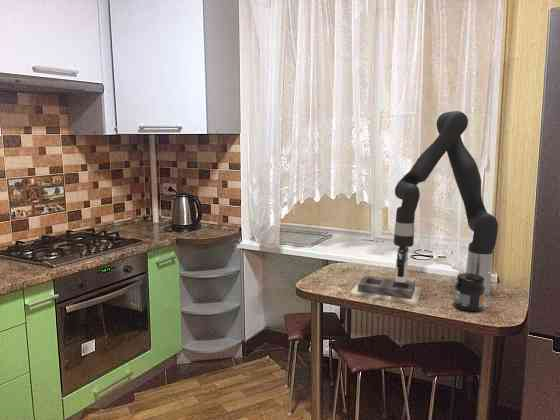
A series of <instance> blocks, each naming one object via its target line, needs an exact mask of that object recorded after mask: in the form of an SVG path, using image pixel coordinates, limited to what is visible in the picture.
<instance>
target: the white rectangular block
mask: <svg viewBox="0 0 560 420" xmlns="http://www.w3.org/2000/svg"><path fill="white" fill-rule="evenodd" d="M395 259H396V260H395V261H396V262H395V273H394V277H395V278H394V280H395V281H397V282H404V283H405V282H406V281H407V278H408V266H409V264H408V263H409V257H408V258H407V259H406V262H405V267H404V276H403V277H398V267H397V258H395ZM404 260H405V259H404ZM400 264H401V265H402V263H400Z"/></svg>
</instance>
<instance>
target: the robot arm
mask: <svg viewBox="0 0 560 420" xmlns="http://www.w3.org/2000/svg"><path fill="white" fill-rule="evenodd" d="M468 125H469V120H468V116H467V115H466V114H465V113H464V112H462V111H460V110H456V111H455V110H454V111H446V112H443V113H441V114H440V115H439V116H438V117H437V120H436V129H437V132H438V134H439V135H438V136H437V137H436V139H435V140H434V141H433V142H432V143H431V144H430V145H429V146H428V147H427V148H426V149H425V150H424V151H423V152H422V153H421V154H420V156H419V157H418V158H417V160H416V161H415V163H414V164H413V165H412V167H411V169H410V170H409V171H408V172H407V173H406V174H405V175H404V176H403V177H402V178H400V180H399V181H398V182H397V184H396V185H395V188H394V196H396V197H395V198H398V199H399V200H401V205H400V206H399V207H397V208H396V211H395V212H396V213H395V225H394V233H393V236H394V237H393V244H394V245H395V246H398V248H397V251H396V254H397V255H396V259H397V267H398V277H403V276H404V267H405V262H406V259H407V258H408V259H409V252H410V250H409V248H410V247H413V246H414V244H415V243H414V240H415V219H416V218H415V216H416V210H417V208H418V203H419V201H420V196H421V193H420V189H419V187H418V184H419V183H424V182H426V181H427V179H428V178H429V177H430V175H431V173H432V172H433V170H434V169H435V167H436V166H437V164H438V163H439V161H441V159H442V158H443V156H444V155H445V154H446V155H447V157H448V160H449V163H450V167H451V169H452V173H453V176H454V181H455V183H456V186H457V189H458V192H459V195H460V197H461V200H462V202H463V205H464V210H465V215H466V221H467V224H468V228H469V229H470V230H471V231H472V232H473V235H472V241H471V242H469V244H468V246H467V247H468V250H467V261H466V269H465V270H466V272H465V273H472V274H477V275H480V276H482V277H484V279H485V281H484V286H485V292H484V296H488V297H489V296H490V288H491V279H492V266H493V265H492V263H493V253H494V249H495V247H496V244H497V239H498V238H497V236H498V230H499V223H498V219H497V218H496V217H495V216H494V215H493V214H491V213H488V212H487V209H486V206H485V205H484V204H485V203H484V202H483V201H484V200H483V197H482V178H481V177H482V176H481V173H480V171H479V168H478V164H477V161H476V160H475V158H474V157H473V156H472V154H471V153H470V151H469V150H468V149H467V148H466V146H465V144H464V142H463V140H462V136H461V135H462V134H463V133H464V132H465V131H466V129H467V127H468ZM404 259H405V260H404ZM400 263H402V265H401V264H400Z"/></svg>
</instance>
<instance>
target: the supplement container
mask: <svg viewBox="0 0 560 420" xmlns="http://www.w3.org/2000/svg"><path fill="white" fill-rule="evenodd" d="M484 281H485V279H484V277H482V276H480V275H477V274H472V273H466V272H462V273H458V274H457V276H456V282H455V284H454V295H453V297H454V298H453V305H454V307H456V308H457V309H458V308H459V310H461V311H464V310H466V311H465V312H469V311H477V312H480V311H483V308H484V300H485V295H484V292H485V286H484Z"/></svg>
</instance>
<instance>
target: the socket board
mask: <svg viewBox="0 0 560 420" xmlns="http://www.w3.org/2000/svg"><path fill="white" fill-rule="evenodd" d="M357 281H358V282H356V283H355V285H354V286H353V288H352V289H351V291H350V292H349V296H352V297H359V298H364V299H372V300H378V301H385V302H390V303H391V302H392V303H400V304H405V305H413V306H418V304H419V300H420V297H421V295H422V290H423V288H422V287H419V286H416V281H415V282H414V281H407V280H406V282H405V283H404V282H397V281H395V278H394V279H393V278H386V277H378V276H369V275H364V276H363V277H362V278H361V279H358V280H357Z"/></svg>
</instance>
